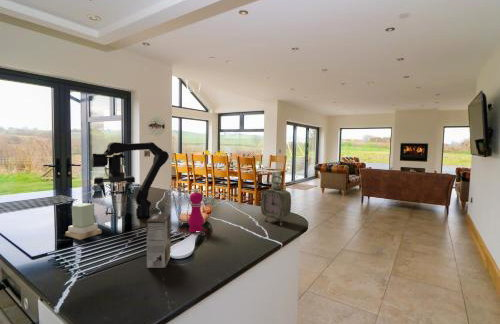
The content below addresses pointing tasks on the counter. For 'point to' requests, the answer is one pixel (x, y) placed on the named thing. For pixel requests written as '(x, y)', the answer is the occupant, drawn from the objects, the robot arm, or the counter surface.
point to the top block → (82, 228)
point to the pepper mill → (196, 212)
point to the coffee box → (158, 240)
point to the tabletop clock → (276, 202)
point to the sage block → (83, 215)
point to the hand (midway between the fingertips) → (115, 196)
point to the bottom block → (85, 235)
